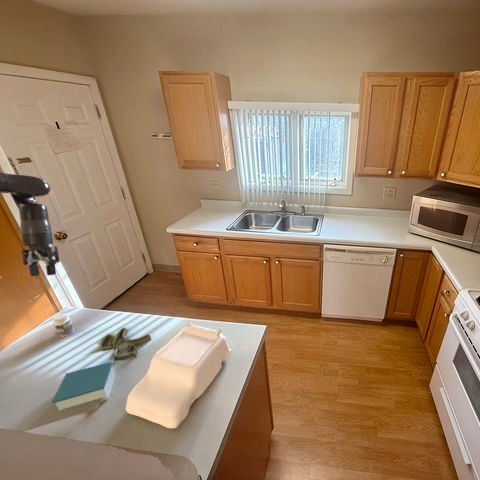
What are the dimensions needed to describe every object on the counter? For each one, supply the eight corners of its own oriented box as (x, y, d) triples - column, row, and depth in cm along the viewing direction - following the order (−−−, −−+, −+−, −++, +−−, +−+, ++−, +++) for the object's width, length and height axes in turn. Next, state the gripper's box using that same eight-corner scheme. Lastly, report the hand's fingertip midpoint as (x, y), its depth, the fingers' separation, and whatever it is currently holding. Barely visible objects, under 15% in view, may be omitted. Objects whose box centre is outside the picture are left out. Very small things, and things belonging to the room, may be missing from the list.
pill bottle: (56, 335, 102) (48, 319, 99) (69, 327, 106) (62, 311, 103) (65, 338, 101) (57, 321, 98) (78, 329, 106) (71, 313, 102)
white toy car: (235, 352, 98) (231, 325, 93) (176, 434, 72) (166, 403, 66) (193, 341, 103) (187, 314, 97) (123, 414, 76) (109, 383, 71)
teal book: (59, 415, 75) (51, 401, 73) (72, 386, 83) (66, 373, 81) (109, 399, 80) (103, 387, 77) (117, 373, 88) (112, 361, 86)
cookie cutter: (155, 339, 102) (154, 336, 102) (128, 363, 92) (126, 359, 91) (121, 329, 107) (119, 326, 106) (90, 351, 96) (89, 347, 95)
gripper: (9, 234, 92) (16, 278, 92) (37, 231, 88) (44, 276, 89) (36, 233, 99) (42, 274, 100) (63, 230, 96) (69, 272, 97)
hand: (43, 275), depth 94 cm, fingers open, 8 cm apart
